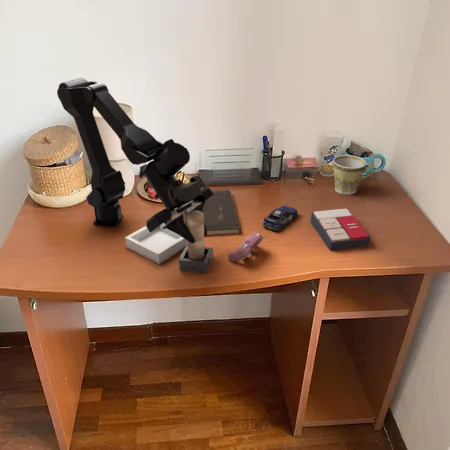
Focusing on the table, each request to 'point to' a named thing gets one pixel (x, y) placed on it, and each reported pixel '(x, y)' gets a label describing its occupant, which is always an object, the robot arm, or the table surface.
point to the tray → (155, 243)
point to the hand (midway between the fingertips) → (200, 238)
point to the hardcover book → (219, 214)
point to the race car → (280, 217)
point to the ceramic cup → (349, 173)
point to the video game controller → (246, 247)
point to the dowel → (196, 235)
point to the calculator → (339, 229)
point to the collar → (196, 261)
